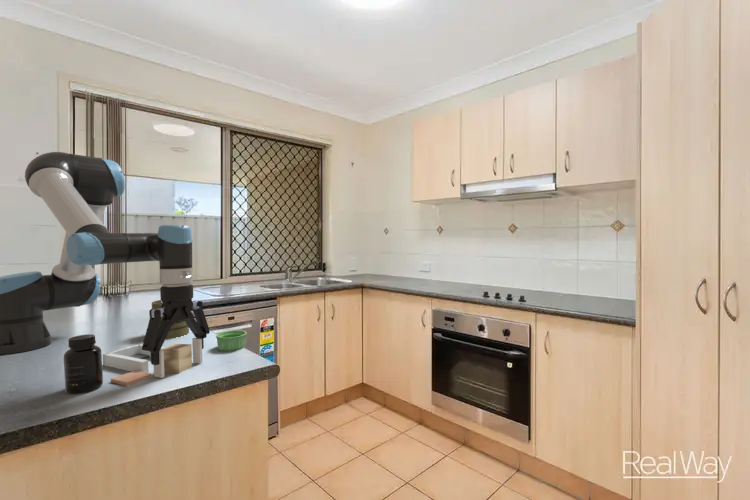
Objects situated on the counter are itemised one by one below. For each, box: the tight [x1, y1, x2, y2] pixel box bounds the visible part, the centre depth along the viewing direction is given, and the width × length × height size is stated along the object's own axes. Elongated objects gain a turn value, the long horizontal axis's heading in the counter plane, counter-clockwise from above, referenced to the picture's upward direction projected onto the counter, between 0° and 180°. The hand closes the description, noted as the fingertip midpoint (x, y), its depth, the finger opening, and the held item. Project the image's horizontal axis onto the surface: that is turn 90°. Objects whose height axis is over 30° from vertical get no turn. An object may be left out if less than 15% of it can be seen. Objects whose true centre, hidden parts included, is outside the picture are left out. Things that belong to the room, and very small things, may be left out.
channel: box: [102, 343, 166, 373], centre depth 102 cm, size 16×11×3 cm
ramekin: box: [215, 329, 248, 352], centre depth 116 cm, size 9×9×4 cm
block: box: [161, 343, 193, 374], centre depth 97 cm, size 5×5×6 cm
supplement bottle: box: [63, 333, 104, 395], centre depth 85 cm, size 7×7×12 cm
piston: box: [151, 299, 190, 340], centre depth 131 cm, size 11×12×11 cm
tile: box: [110, 370, 153, 387], centre depth 90 cm, size 6×6×1 cm
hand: (179, 369), depth 96 cm, fingers open, 11 cm apart
